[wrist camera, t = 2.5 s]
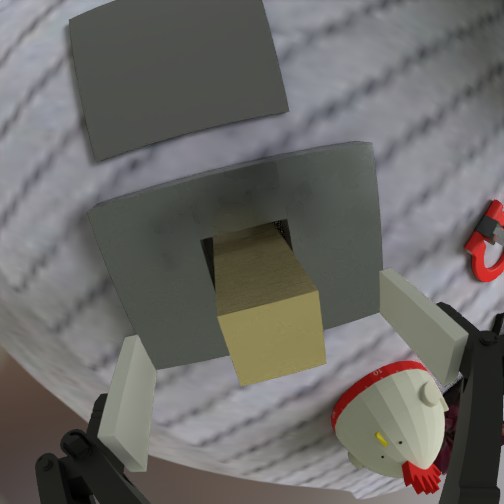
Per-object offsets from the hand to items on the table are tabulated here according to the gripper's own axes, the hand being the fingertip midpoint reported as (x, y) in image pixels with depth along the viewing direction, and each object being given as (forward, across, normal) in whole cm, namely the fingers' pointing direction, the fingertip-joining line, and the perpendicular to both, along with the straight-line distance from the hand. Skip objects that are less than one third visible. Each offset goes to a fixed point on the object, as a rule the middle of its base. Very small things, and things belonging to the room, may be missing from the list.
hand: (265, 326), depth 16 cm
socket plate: (+9, 0, 0) cm, 9 cm away
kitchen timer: (+10, +12, -24) cm, 29 cm away
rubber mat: (+9, -2, +16) cm, 19 cm away
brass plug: (+9, 0, 0) cm, 9 cm away
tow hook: (+9, +27, -6) cm, 30 cm away
